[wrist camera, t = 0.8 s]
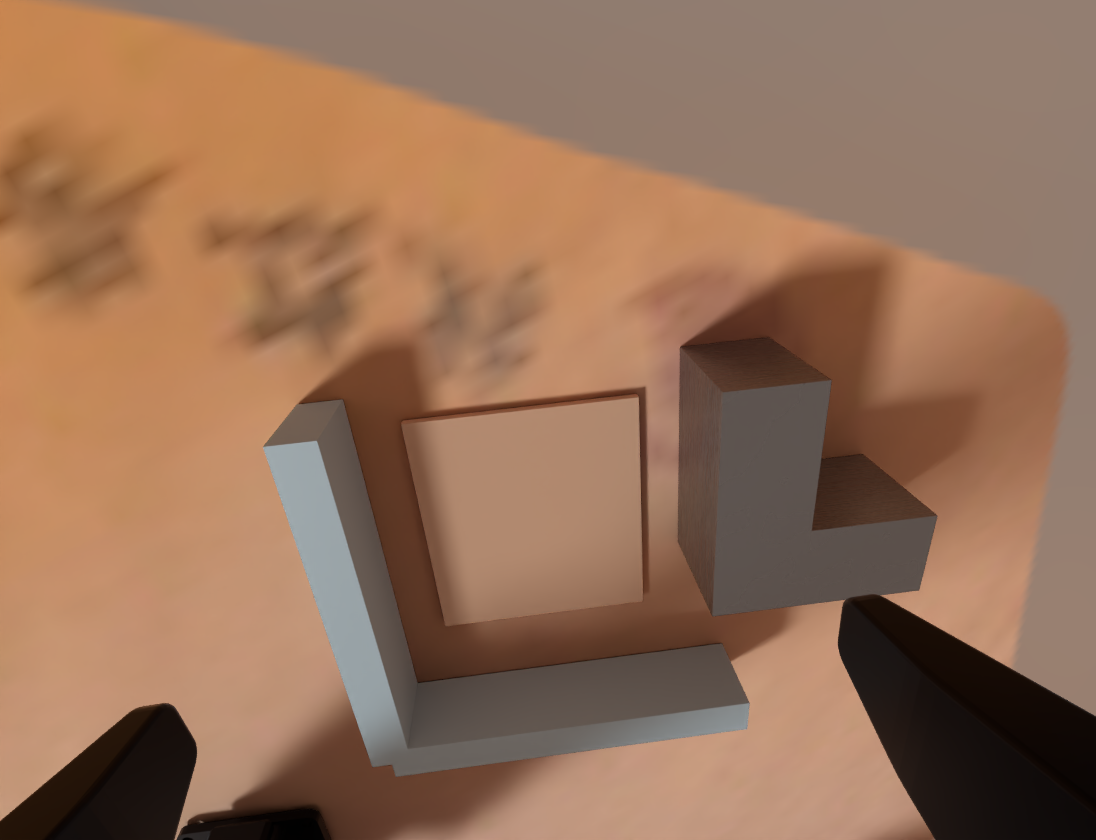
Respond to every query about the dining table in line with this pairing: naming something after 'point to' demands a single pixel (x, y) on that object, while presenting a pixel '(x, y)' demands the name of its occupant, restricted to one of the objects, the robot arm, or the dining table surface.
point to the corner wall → (475, 701)
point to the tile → (531, 507)
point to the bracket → (782, 489)
